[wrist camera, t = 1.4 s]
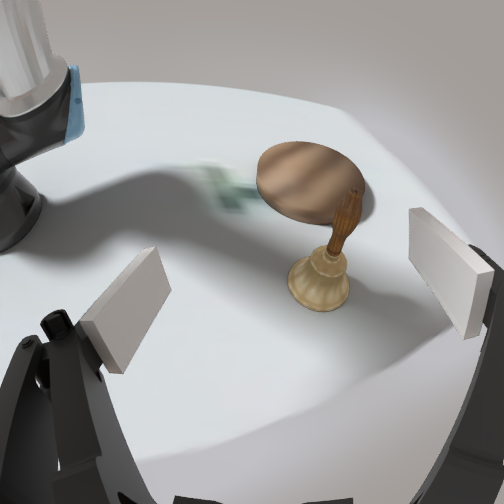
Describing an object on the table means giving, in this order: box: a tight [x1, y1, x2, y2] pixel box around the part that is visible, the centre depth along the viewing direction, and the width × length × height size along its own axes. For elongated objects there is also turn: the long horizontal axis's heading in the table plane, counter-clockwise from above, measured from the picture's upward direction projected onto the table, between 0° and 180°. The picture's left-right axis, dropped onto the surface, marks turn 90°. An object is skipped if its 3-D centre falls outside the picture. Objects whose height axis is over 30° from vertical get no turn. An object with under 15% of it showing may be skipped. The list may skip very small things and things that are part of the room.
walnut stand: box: [256, 141, 365, 225], centre depth 49 cm, size 18×18×3 cm
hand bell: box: [288, 187, 362, 312], centre depth 33 cm, size 8×8×16 cm
